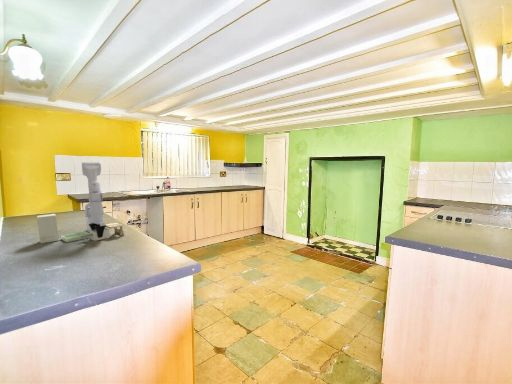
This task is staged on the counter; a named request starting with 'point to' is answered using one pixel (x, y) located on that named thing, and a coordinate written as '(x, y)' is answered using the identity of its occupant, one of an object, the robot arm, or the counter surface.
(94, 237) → the white block with post
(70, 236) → the tray
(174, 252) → the counter surface
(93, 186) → the robot arm
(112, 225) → the beige block
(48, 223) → the skincare box
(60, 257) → the counter surface
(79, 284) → the counter surface
